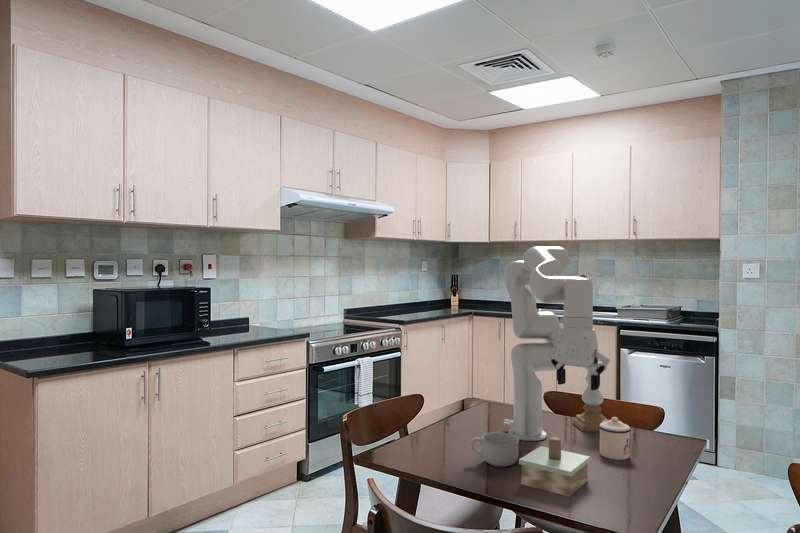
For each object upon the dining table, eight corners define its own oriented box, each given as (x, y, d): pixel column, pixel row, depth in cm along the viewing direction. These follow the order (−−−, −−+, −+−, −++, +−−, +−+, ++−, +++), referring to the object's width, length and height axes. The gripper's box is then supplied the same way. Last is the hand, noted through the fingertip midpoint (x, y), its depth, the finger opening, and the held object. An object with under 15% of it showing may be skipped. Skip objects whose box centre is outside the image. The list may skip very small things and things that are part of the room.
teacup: (520, 460, 167) (521, 434, 167) (516, 473, 157) (516, 445, 157) (474, 455, 172) (475, 429, 172) (467, 467, 161) (467, 439, 161)
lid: (518, 463, 148) (519, 440, 147) (540, 450, 159) (540, 428, 159) (570, 476, 139) (570, 451, 139) (590, 460, 150) (590, 437, 150)
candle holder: (601, 422, 207) (602, 358, 207) (613, 431, 196) (614, 363, 196) (572, 422, 207) (572, 358, 207) (582, 431, 196) (583, 363, 196)
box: (521, 486, 148) (521, 463, 148) (541, 472, 158) (541, 450, 158) (569, 499, 140) (569, 475, 140) (587, 483, 150) (587, 461, 150)
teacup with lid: (631, 462, 166) (631, 423, 166) (598, 458, 169) (598, 419, 169) (629, 449, 177) (629, 413, 177) (599, 446, 181) (599, 410, 181)
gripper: (542, 322, 155) (542, 383, 154) (602, 326, 142) (602, 394, 142) (556, 320, 160) (556, 380, 160) (615, 324, 148) (615, 389, 147)
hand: (577, 386), depth 151 cm, fingers open, 9 cm apart
